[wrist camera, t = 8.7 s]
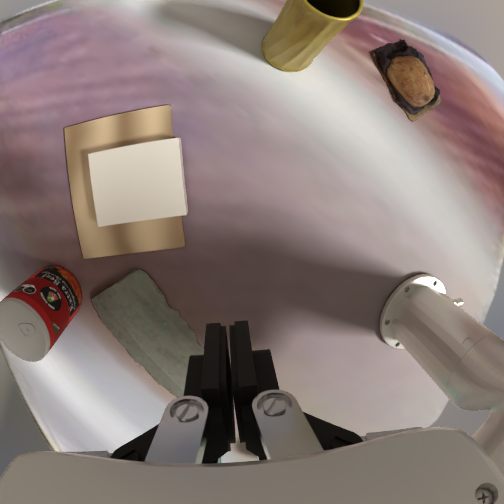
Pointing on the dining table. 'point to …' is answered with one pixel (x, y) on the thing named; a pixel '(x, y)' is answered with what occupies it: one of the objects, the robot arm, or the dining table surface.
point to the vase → (306, 31)
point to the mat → (77, 149)
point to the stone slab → (149, 329)
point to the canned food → (39, 312)
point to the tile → (138, 182)
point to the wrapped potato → (408, 78)
